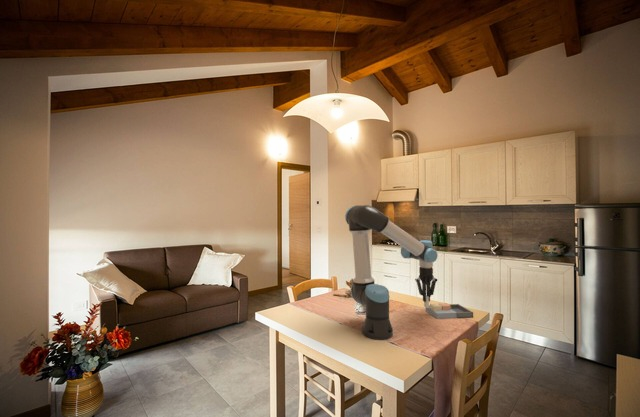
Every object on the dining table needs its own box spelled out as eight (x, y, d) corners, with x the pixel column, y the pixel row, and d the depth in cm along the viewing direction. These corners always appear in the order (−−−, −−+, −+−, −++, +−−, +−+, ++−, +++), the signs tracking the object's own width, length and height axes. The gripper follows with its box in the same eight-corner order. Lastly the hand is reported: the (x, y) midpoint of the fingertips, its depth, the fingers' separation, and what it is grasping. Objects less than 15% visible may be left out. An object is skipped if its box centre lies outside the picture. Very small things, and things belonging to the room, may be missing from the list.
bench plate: (456, 317, 172) (456, 312, 172) (436, 318, 171) (436, 313, 171) (444, 309, 186) (444, 304, 186) (425, 310, 185) (425, 305, 185)
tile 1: (441, 310, 176) (441, 306, 176) (433, 310, 175) (433, 306, 175) (437, 307, 181) (437, 303, 181) (429, 308, 180) (429, 303, 180)
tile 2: (450, 310, 176) (450, 305, 176) (442, 310, 176) (442, 306, 176) (446, 307, 181) (446, 303, 181) (438, 307, 181) (438, 303, 181)
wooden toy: (365, 297, 213) (365, 278, 213) (359, 301, 204) (359, 281, 204) (337, 293, 224) (337, 275, 224) (330, 297, 215) (330, 278, 215)
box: (473, 317, 172) (473, 312, 172) (457, 318, 171) (457, 312, 171) (458, 308, 187) (458, 304, 187) (443, 309, 186) (443, 304, 186)
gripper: (433, 265, 182) (433, 304, 182) (412, 266, 180) (413, 305, 180) (439, 267, 174) (440, 308, 174) (418, 268, 173) (418, 309, 173)
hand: (426, 306), depth 177 cm, fingers closed
